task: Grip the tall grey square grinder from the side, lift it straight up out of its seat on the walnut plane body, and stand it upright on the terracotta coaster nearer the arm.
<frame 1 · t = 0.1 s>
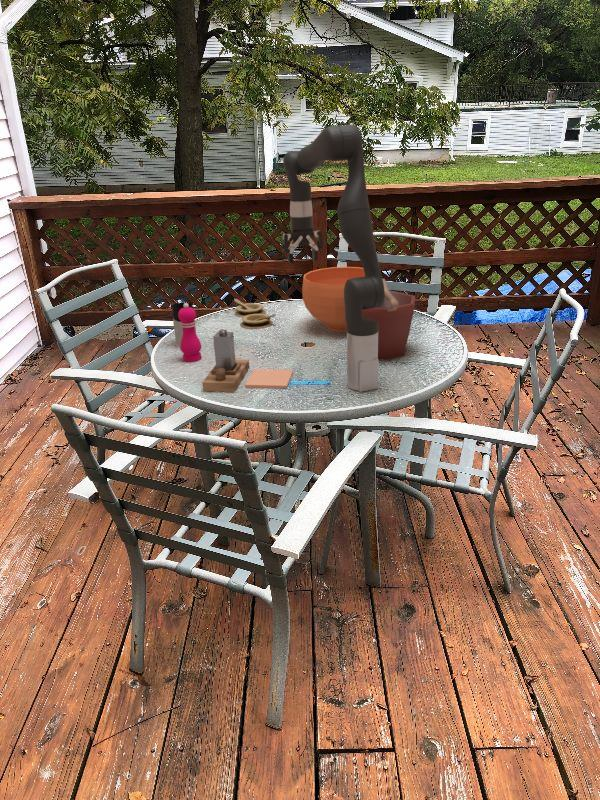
hand: (303, 262, 218), 29 cm above the table, tool pointing down, fingers open, 8 cm apart
bucket: (380, 352, 219), on the table
grey square grinder: (226, 370, 200), point 3 cm above the table, touching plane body
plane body: (227, 379, 201), on the table
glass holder: (189, 346, 232), on the table
bowl: (342, 328, 245), on the table
pepper mill: (192, 359, 220), on the table
coaster: (270, 380, 199), on the table
tableware set: (253, 320, 262), on the table
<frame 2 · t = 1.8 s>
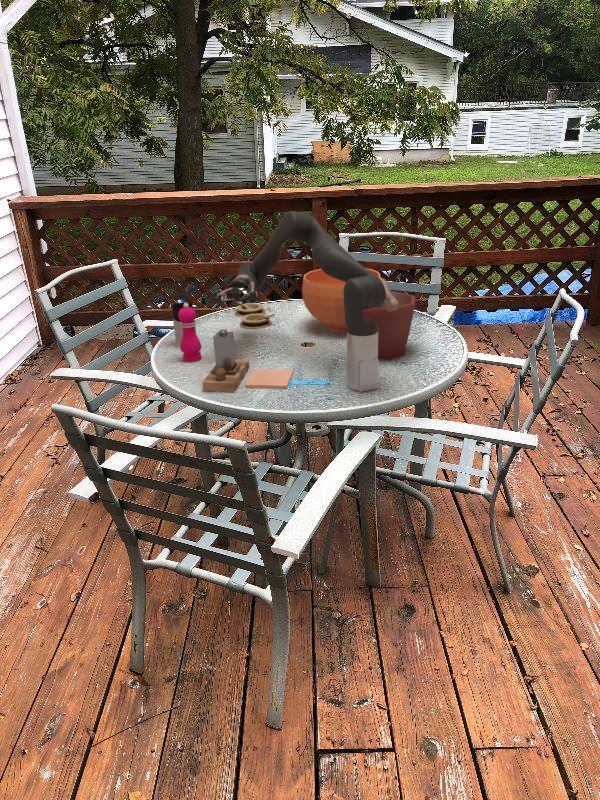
hand: (230, 301, 202), 22 cm above the table, tool horizontal, fingers open, 8 cm apart
nothing on the table moved.
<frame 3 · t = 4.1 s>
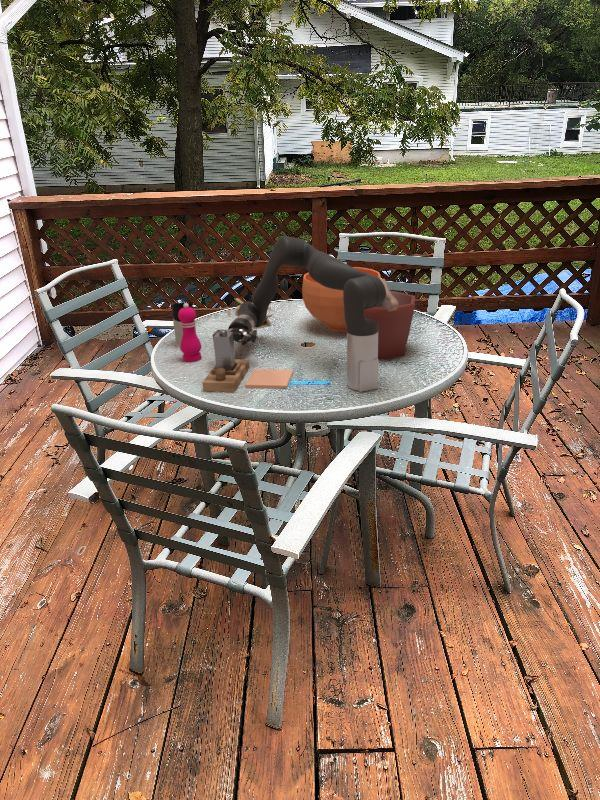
hand: (230, 343, 203), 10 cm above the table, tool horizontal, fingers open, 8 cm apart
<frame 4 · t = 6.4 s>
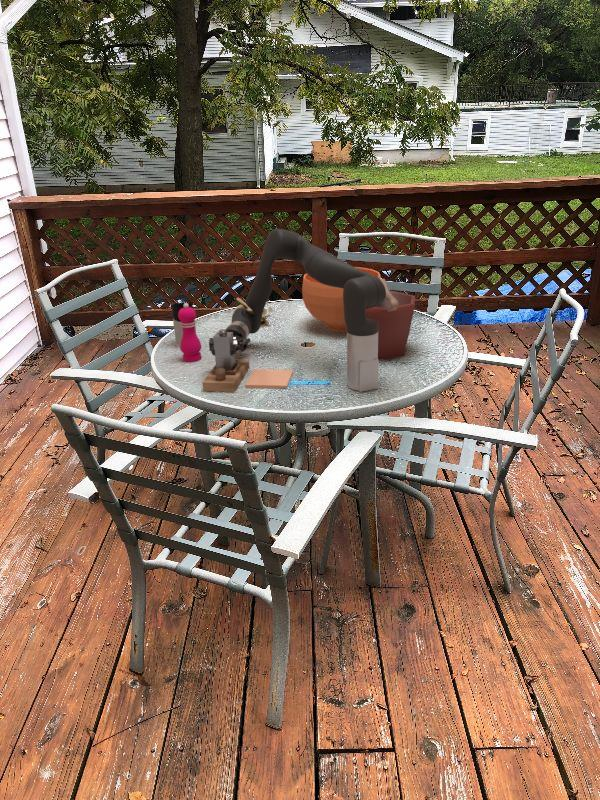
hand: (222, 352, 195), 10 cm above the table, tool horizontal, fingers closed on grey square grinder, 5 cm apart
grey square grinder: (226, 370, 200), point 3 cm above the table, touching gripper, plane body
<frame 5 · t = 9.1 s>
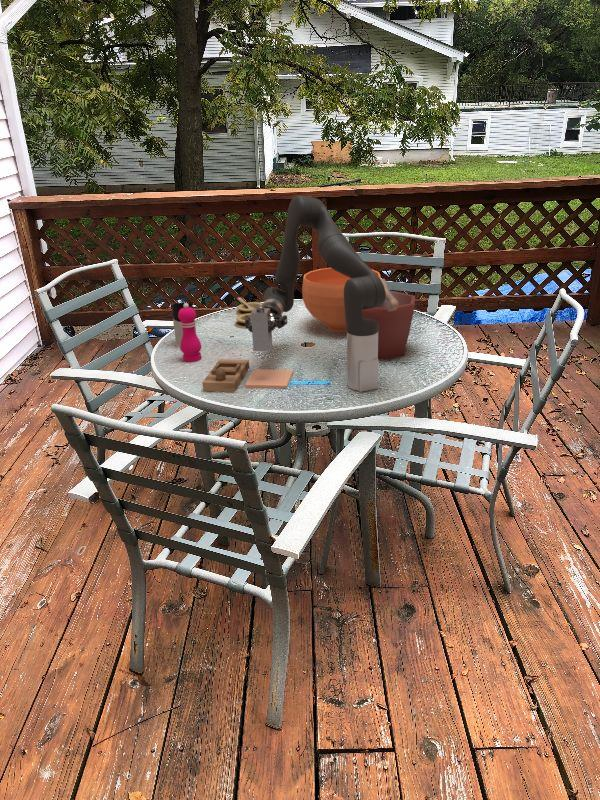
hand: (260, 329, 189), 18 cm above the table, tool horizontal, fingers closed on grey square grinder, 5 cm apart
grey square grinder: (263, 348, 194), point 11 cm above the table, touching gripper
when the fingers open (9 cm above the table, at t = 11.8 s): grey square grinder drops 1 cm, resting on coaster.
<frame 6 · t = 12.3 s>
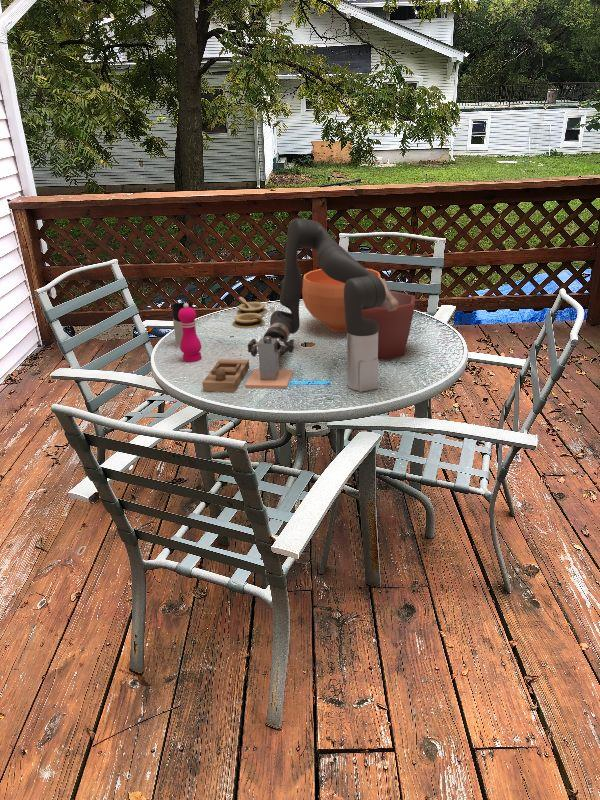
hand: (267, 353, 193), 10 cm above the table, tool horizontal, fingers open, 8 cm apart
grey square grinder: (269, 377, 198), point 1 cm above the table, touching coaster
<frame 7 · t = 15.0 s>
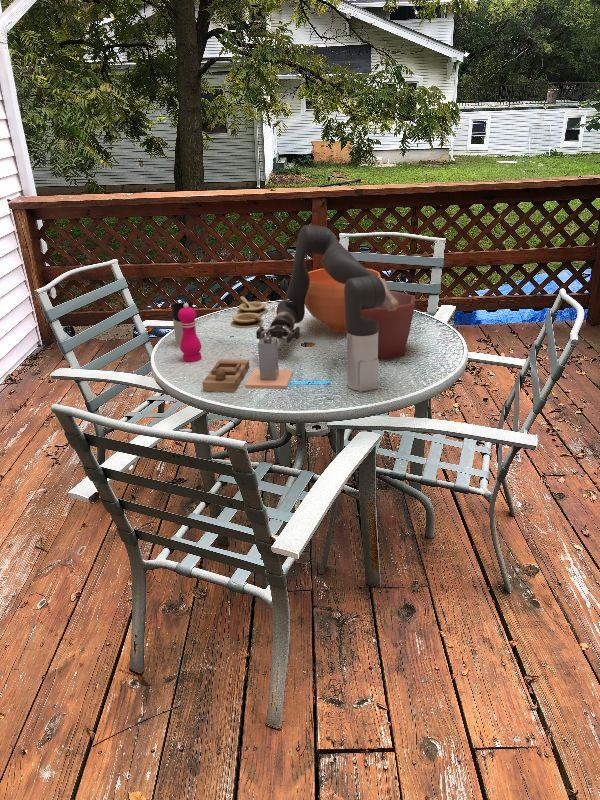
hand: (274, 340, 205), 10 cm above the table, tool horizontal, fingers open, 8 cm apart
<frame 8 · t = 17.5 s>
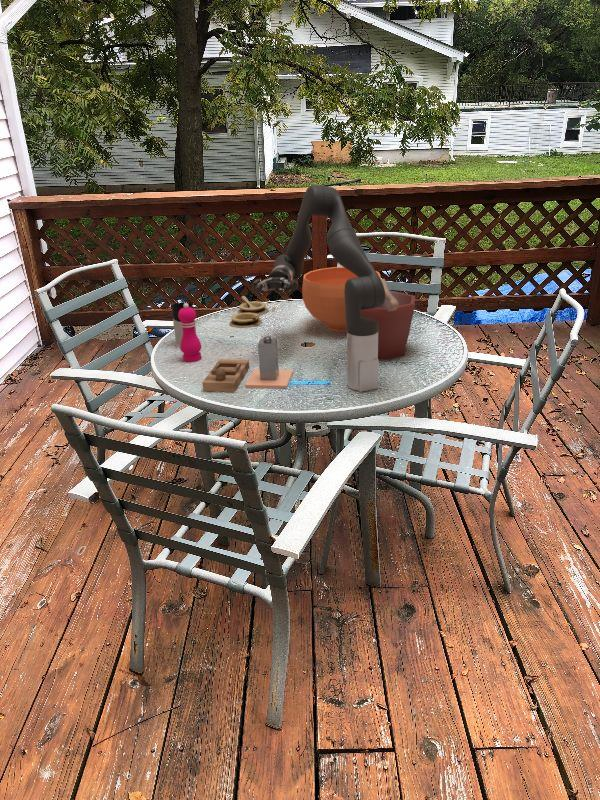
hand: (271, 290, 198), 26 cm above the table, tool horizontal, fingers open, 8 cm apart
at the end: grey square grinder inside the target area on the coaster (0.0 cm from its centre), point 1.0 cm above the coaster's base; grey square grinder tilted 0°; the gripper is holding nothing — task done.
